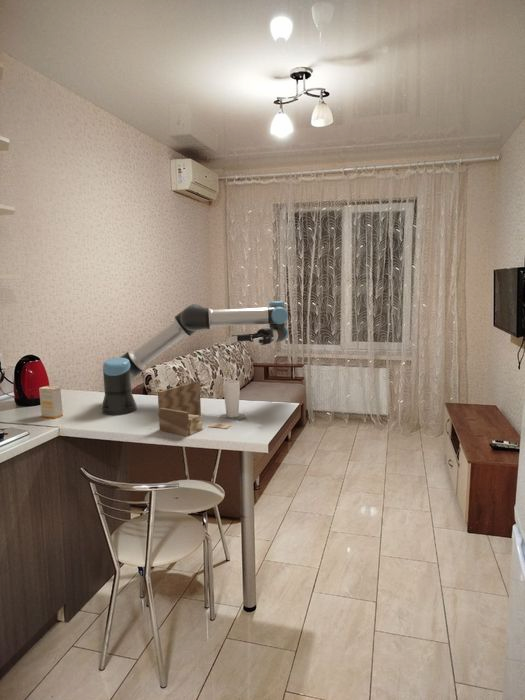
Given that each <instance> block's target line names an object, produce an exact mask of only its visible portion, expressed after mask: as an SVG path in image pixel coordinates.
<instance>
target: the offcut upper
mask: <svg viewBox="0 0 525 700" xmlns="http://www.w3.org/2000/svg"><path fill="white" fill-rule="evenodd" d="M200 416H201V415H200ZM200 416H199V415H190V414H188V418H189V426H193V425H195V424H197V423H199V422H201V418H200Z"/></svg>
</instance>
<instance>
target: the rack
mask: <svg viewBox="0 0 525 700" xmlns="http://www.w3.org/2000/svg"><path fill="white" fill-rule="evenodd" d="M200 403H201V385H200V380H196V381H192V382H188V383H186V384H183V385H179V386H175V387H172V388H168V389H164V390H161V391H157V406H158V422H159V423H158V424H159V425H158V426H159V431H160V432H164V433H168V434H173V435H178V436H184V437H188V436H190V435H189V418H188V414H190V415H199V416H202V415H201V413H202V406H201V405H200ZM203 430H204V428H202V430H201V431H203Z"/></svg>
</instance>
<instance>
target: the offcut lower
mask: <svg viewBox="0 0 525 700" xmlns="http://www.w3.org/2000/svg"><path fill="white" fill-rule="evenodd" d="M202 429H203V422H202V421H200V422H199V423H197V424H195V425H193V426H189V436H191V435H193V434H196V433H198V432H200V431H203V430H202Z"/></svg>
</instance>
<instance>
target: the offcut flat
mask: <svg viewBox="0 0 525 700" xmlns="http://www.w3.org/2000/svg"><path fill="white" fill-rule="evenodd" d="M231 427H232V425H231V424H225V423H224V424H223V423H215V422H214V423H211V424H209V425H208V428H213V429H222V430H223V429H224V430H228V429H229V428H231Z"/></svg>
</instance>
